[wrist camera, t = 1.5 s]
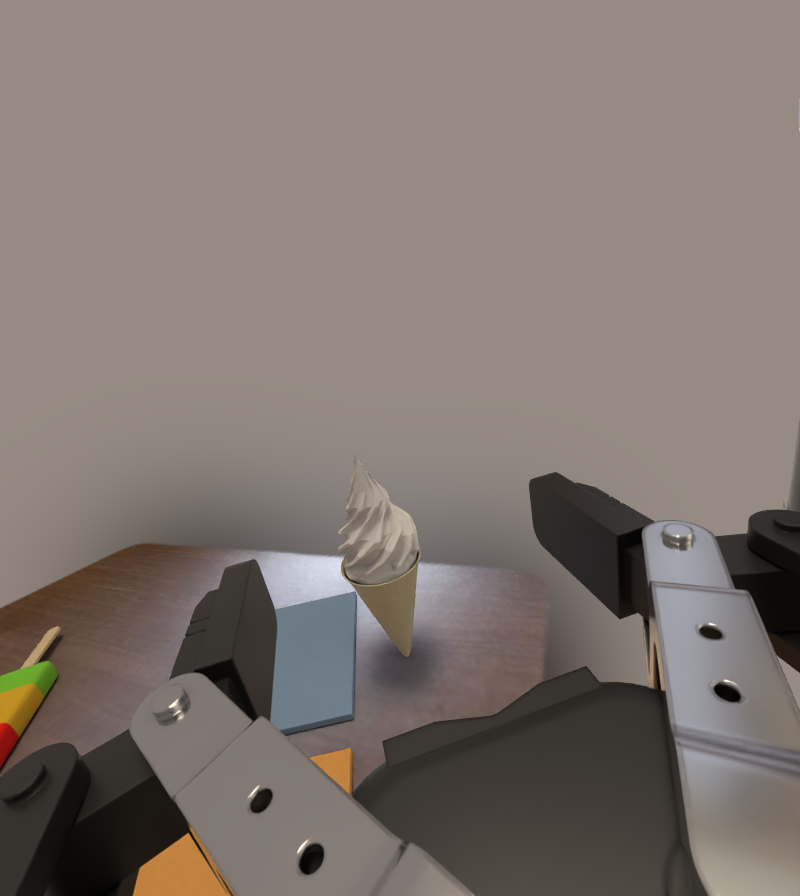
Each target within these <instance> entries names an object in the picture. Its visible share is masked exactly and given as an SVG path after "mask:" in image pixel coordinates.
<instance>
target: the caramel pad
mask: <svg viewBox="0 0 800 896" xmlns="http://www.w3.org/2000/svg"><path fill="white" fill-rule="evenodd" d="M310 759H311V760H312V761H313V762H315V763H316V764H317V765H318V766H319V767H320V768H321V769H322V770H323V771H324V772H326V773H327V774H328V775H329V776H330V777H331V778H332V779H333V780H334V781H335V782H337V783H338V784H339V785H340V786H341V787H342V788H343V789H344V790H345V791H346V792H348V793H349V794H350V795H351V794H352V768H353V753H352V750H351V749H345V750H341V751H337V752H332V753H328V754H323V755H319V756H315V757H310ZM133 896H227V895H226V893H225V892H224V890H223V888H222V887H221V885H220V884H219V882H218V880H217V879H216V877H215V876H214V874H213V872H212V871H211V869H210V868H209V866H208V864H207V863H206V861H205V860H204V858H203V856H202V855H201V853H200V852H199V850H198V849H197V847H196V845H195V844H194V842H193V841H192V839H191V837H190V836H189V834H186V835H185V836H183V837H182V838H181V839H179V840H178V841H176V842H175V843H174V844H172V845H171V846H169V847H168V848H167V849H165V850H164V851H163V852H161V853H160V854H158V855H157V856H156V857H154V858H153V859H151V860H150V861H149V862H147V863H146V864H144V865H143V866H142V867H140V869H139V873H138V877H137V881H136V885H135V889H134V893H133Z"/></svg>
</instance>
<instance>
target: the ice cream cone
mask: <svg viewBox="0 0 800 896" xmlns="http://www.w3.org/2000/svg"><path fill="white" fill-rule="evenodd" d="M345 501H346V502H347V503H348V505H347V508H346V509H347V514H348V515H347V518H346V520H348V521H349V522H348V524H346V525H345V526H344V527H343V528H342V529H341V530H339V531H338V534H341V535H345V536H346V541H345V543H344V544H343V545H341V546H339V547H338V551H339V553H347V555H346V556H345V558H344V559H343V561H342V564H341V573H342V575H343V577H344V578H345V579H346V580H347V581H348V582H349V583H351V584H352V586H353V587H354V589H355V590H356V591H357V593H358V595H359V596H360V597H361V599H362V600H363V601H364V603H365V604H366V605H367V607H368V608H369V609H370V611H371V612H372V614H373V615H374V616H375V618H376V619H377V620H378V622H379V623H380V625H381V626H382V627H383V629H384V630H385V631H386V633H387V634H388V635H389V637H390V638H391V640H392V641H393V642H394V644H395V645H396V646H397V648H398V649H399V651H400V652H401V653H402V655H403V656H404V657H409V656H410V651H411V640H412V628H413V617H414V605H415V595H416V594H415V591H416V580H417V568H418V561H419V559H420V555H421V550H420V547H419V544H418V536H417V529H416V527H415V525H414V522H413V520H412V518H411V516H410V515H409V514H408V513H406V512H404V511H403V510H402V509H400V508H399V507H397V506H395V505H394V504H392V503H391V502H390V499H389V496H388V493H387V491H386V489H384V488H383V487H382V486H380V485H379V484H378V483H377V482H376V481H375V480H374V478H373V477H372V476H371V475H370V474H369V472H368V471H367V470H366V469H365V467H364V466H363V465H362V464H361V462H360V461H359V460H358V458H357V457H356V456H354V466H353V472H352V479H351V485H350V491H349V493H348V496H347V498H346V500H345Z"/></svg>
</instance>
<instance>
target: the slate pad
mask: <svg viewBox="0 0 800 896" xmlns="http://www.w3.org/2000/svg"><path fill="white" fill-rule="evenodd" d="M356 606H357V595H356V592H351V593H346V594H342V595H338V596H333V597H329V598H324V599H320V600H316V601H311V602H307V603H302V604H298V605H294V606H289V607H285V608H280V609H276V610H275V612H276V618H277V642H276V655H275V667H274V680H273V693H272V706H271V718H270V722H271V723H272V724H273V725H274V726H275V727H276V728H277V729H278V730H279V731H280V732H282V733H283V734H284V735H286V734H290V733H295V732H299V731H303V730H308V729H312V728H317V727H321V726H325V725H330V724H334V723H339V722H343V721H347V720H352V719H354V687H355V647H356ZM172 670H173V669H172ZM171 673H172V671H171ZM171 673H170V675H171ZM170 675H169V677H168V679H167V681H168V680H169V678H170ZM167 681H166V682H167Z"/></svg>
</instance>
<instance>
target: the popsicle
mask: <svg viewBox="0 0 800 896" xmlns="http://www.w3.org/2000/svg"><path fill="white" fill-rule="evenodd" d="M60 630H61V628H60V627H59V626H58V627H54V628H52V629H50V630H49V631H48V632H47V633H46V635H45V636H44V637H43V639H42V640H41V641H40V643H39V644H38V645H37V647H36V648H35V649H34V651H33V652H32V654H31V655H30V656H29V658H28V659H27V660H26V662H25V663H24V664H23V666H22V667H21V668H20V670H17V671H14V672H10V673H7V674H4V675H1V676H0V768H1V766H2V764H3V763H4V761H5V760H6V758H7V756H8V755H9V753H10V752H11V750H12V748H13V747H14V745H15V744H16V742H17V740H18V739H19V737H20V736H21V734H22V732H23V731H24V729H25V728H26V726H27V724H28V723H29V721H30V720H31V718H32V716H33V715H34V713H35V712H36V710H37V708H38V707H39V705H40V704H41V702H42V700H43V699H44V697H45V696H46V694H47V692H48V691H49V689H50V688H51V686H52V684H53V683H54V681H55V680H56V678H57V676H58V671H57V669H56V668H55V666H54V665H53V664H52V663H51V662H50V661H44V662H41V663H38V661H39V660H40V658H41V657H42V656H43V654H44V653H45V651H46V650H47V649H48V647H49V646H50V644H51V643H52V641H53V640H54V639H55V637H56V636H57V634H58V633H59V632H60ZM37 663H38V664H37Z"/></svg>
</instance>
